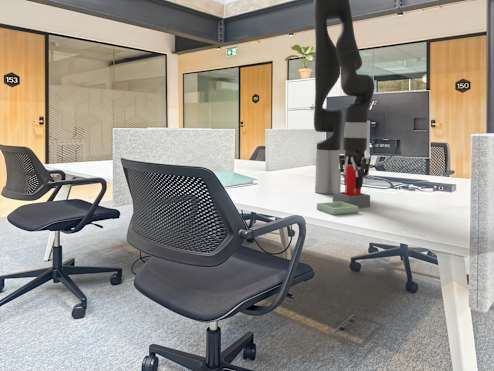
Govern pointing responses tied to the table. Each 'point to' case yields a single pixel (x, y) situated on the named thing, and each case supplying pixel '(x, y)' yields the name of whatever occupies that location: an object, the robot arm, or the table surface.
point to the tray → (337, 208)
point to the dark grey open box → (352, 199)
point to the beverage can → (351, 182)
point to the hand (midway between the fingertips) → (352, 186)
